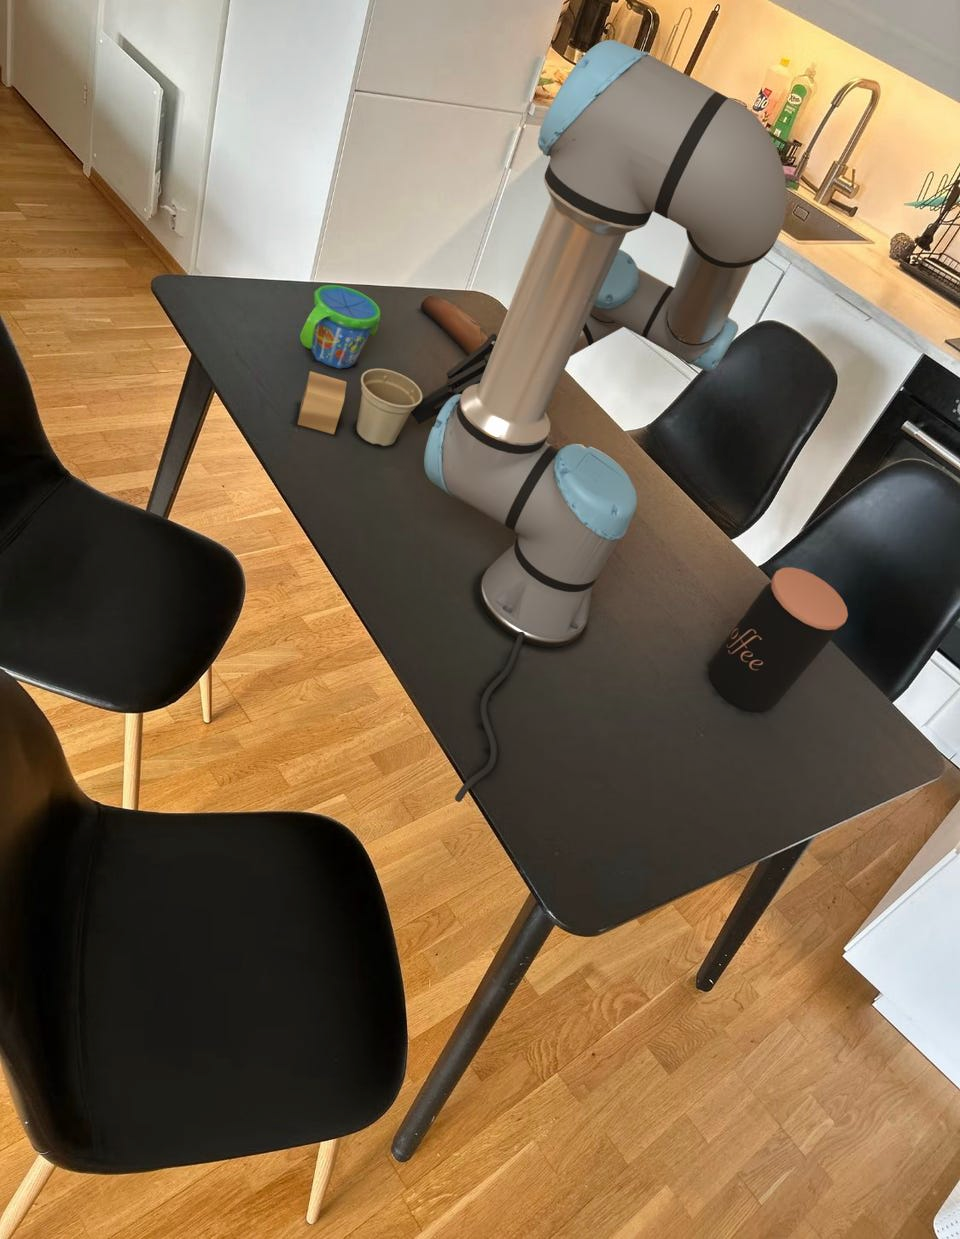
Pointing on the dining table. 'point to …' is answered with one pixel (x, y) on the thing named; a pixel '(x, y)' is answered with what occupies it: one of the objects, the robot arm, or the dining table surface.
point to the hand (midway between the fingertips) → (413, 415)
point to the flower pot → (385, 405)
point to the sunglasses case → (455, 323)
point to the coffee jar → (776, 640)
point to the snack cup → (339, 325)
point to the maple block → (322, 403)
